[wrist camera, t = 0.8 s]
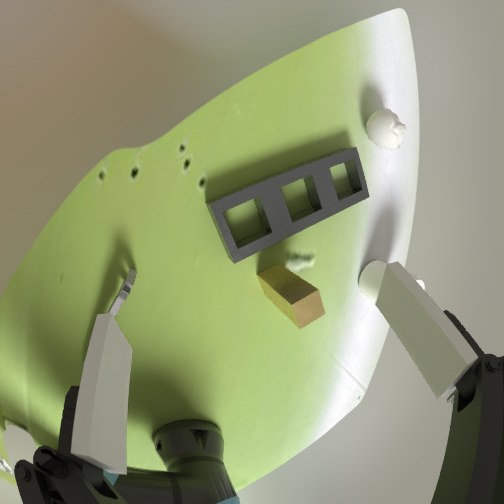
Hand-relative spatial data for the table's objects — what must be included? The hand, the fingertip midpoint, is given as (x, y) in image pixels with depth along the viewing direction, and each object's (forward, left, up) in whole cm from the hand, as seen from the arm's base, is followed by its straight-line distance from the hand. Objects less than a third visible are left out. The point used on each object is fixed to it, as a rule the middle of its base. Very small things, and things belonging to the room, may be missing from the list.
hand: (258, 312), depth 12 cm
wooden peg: (-14, -9, -28) cm, 32 cm away
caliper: (-8, +18, -28) cm, 35 cm away
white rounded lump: (+3, -38, -28) cm, 47 cm away
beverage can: (-25, -29, -28) cm, 47 cm away
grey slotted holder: (-3, -17, -28) cm, 33 cm away
